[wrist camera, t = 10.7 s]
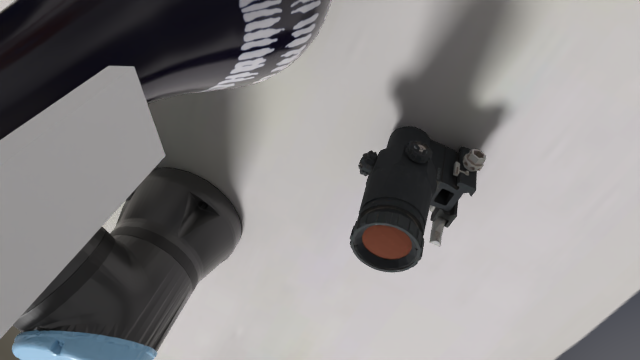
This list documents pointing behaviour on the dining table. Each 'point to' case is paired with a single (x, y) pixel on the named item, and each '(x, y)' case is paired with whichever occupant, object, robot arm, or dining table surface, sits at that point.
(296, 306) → the dining table surface
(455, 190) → the scope
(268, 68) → the vase
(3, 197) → the robot arm
